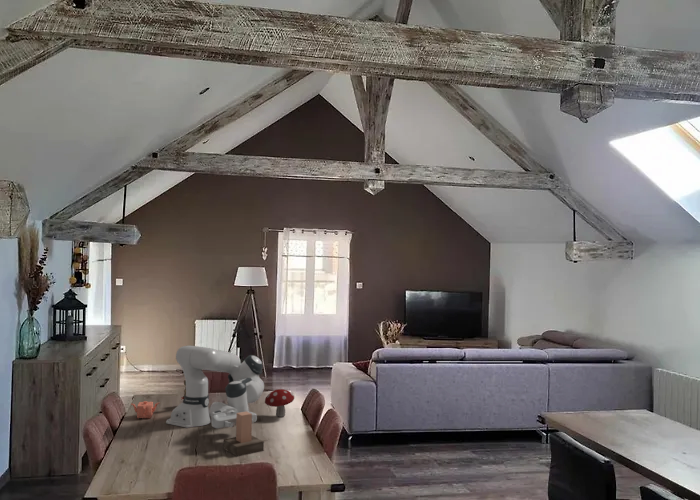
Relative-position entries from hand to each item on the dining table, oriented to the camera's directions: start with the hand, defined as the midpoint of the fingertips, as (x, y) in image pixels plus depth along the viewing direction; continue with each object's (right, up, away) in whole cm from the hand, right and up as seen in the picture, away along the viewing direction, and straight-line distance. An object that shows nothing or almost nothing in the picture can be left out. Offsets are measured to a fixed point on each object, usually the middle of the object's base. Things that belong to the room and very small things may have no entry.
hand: (242, 423), depth 267 cm
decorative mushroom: (+10, -12, +53) cm, 55 cm away
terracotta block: (+1, -7, -1) cm, 7 cm away
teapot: (-60, -11, +49) cm, 78 cm away
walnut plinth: (+1, -11, -1) cm, 11 cm away
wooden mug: (-42, -11, +69) cm, 82 cm away
